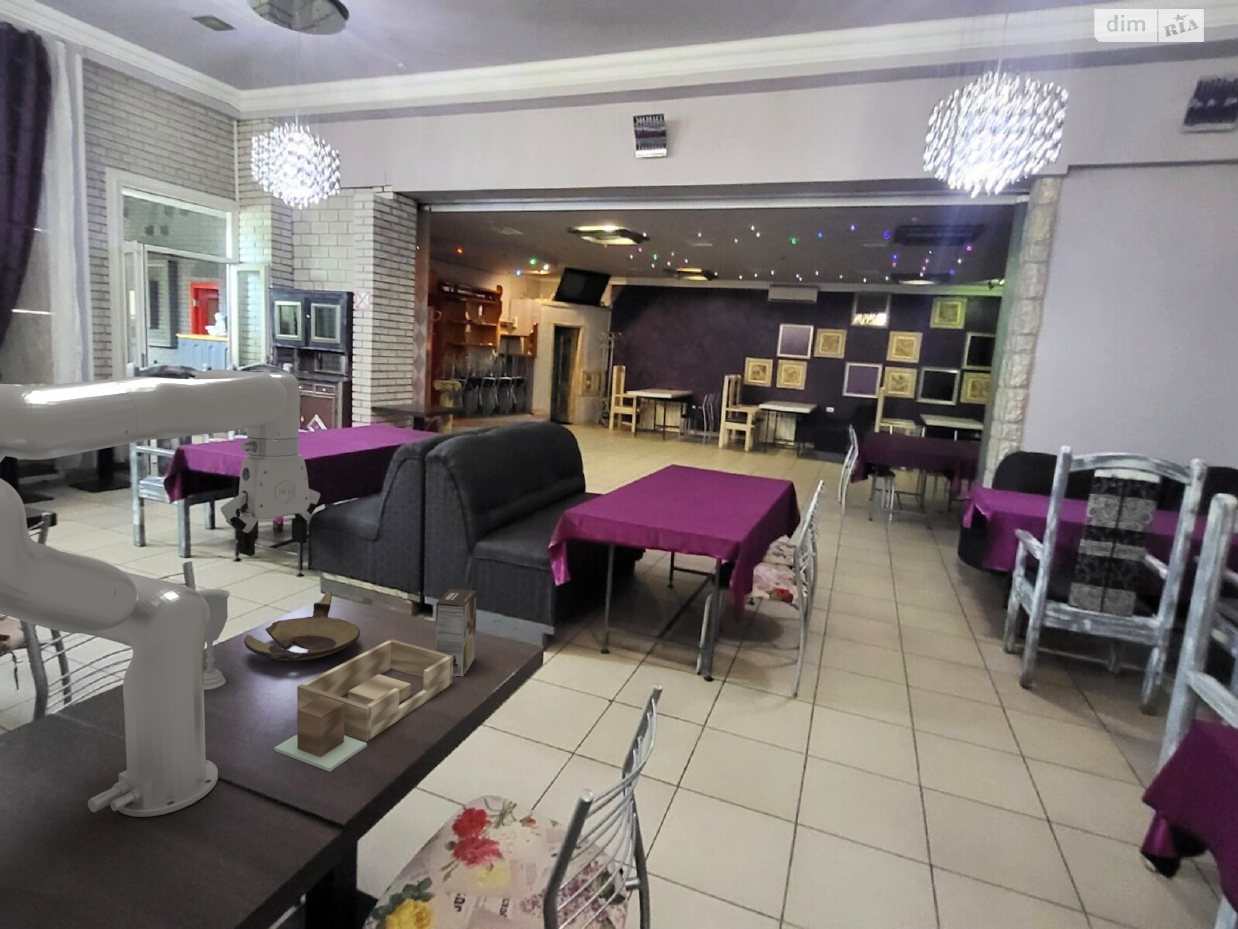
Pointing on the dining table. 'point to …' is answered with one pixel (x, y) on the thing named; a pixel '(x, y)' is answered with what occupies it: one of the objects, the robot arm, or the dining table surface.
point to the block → (320, 726)
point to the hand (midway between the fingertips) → (274, 548)
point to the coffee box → (457, 628)
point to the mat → (326, 761)
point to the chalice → (214, 633)
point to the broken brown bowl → (307, 635)
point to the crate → (379, 686)
